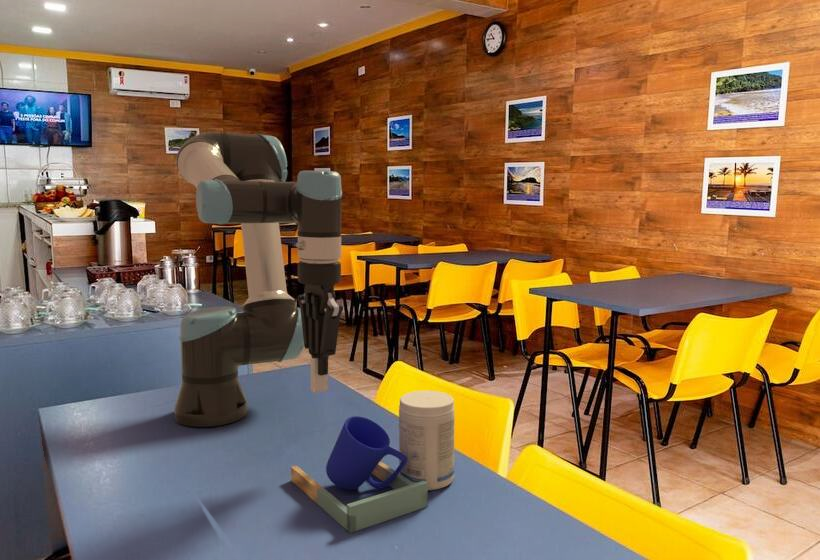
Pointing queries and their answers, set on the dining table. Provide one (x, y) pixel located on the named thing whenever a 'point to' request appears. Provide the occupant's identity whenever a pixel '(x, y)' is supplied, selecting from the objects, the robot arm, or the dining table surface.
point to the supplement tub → (427, 437)
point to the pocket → (376, 504)
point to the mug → (360, 454)
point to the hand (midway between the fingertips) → (319, 390)
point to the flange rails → (311, 485)
